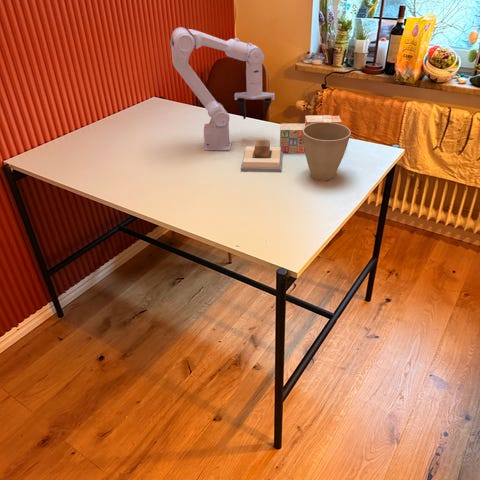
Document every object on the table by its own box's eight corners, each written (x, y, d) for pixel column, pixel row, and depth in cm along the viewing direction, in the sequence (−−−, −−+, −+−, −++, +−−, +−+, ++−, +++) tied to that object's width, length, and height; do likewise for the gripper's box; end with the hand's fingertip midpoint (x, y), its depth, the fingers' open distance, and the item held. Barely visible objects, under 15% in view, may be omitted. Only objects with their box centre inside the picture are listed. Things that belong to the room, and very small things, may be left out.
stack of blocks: (279, 153, 166) (280, 121, 159) (279, 146, 171) (280, 115, 164) (338, 153, 164) (341, 121, 157) (336, 146, 169) (339, 114, 162)
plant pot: (317, 191, 143) (321, 144, 134) (292, 172, 154) (293, 127, 144) (354, 179, 148) (360, 133, 139) (327, 161, 159) (331, 118, 150)
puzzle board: (240, 171, 156) (240, 162, 154) (244, 153, 167) (244, 145, 165) (281, 172, 154) (281, 163, 152) (282, 154, 165) (282, 146, 163)
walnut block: (254, 161, 158) (254, 146, 155) (256, 155, 162) (255, 140, 159) (268, 162, 158) (269, 146, 154) (269, 155, 162) (269, 140, 158)
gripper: (233, 85, 159) (234, 121, 167) (273, 85, 158) (273, 122, 166) (235, 79, 165) (236, 114, 173) (274, 79, 163) (274, 115, 171)
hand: (254, 118), depth 170 cm, fingers open, 7 cm apart
